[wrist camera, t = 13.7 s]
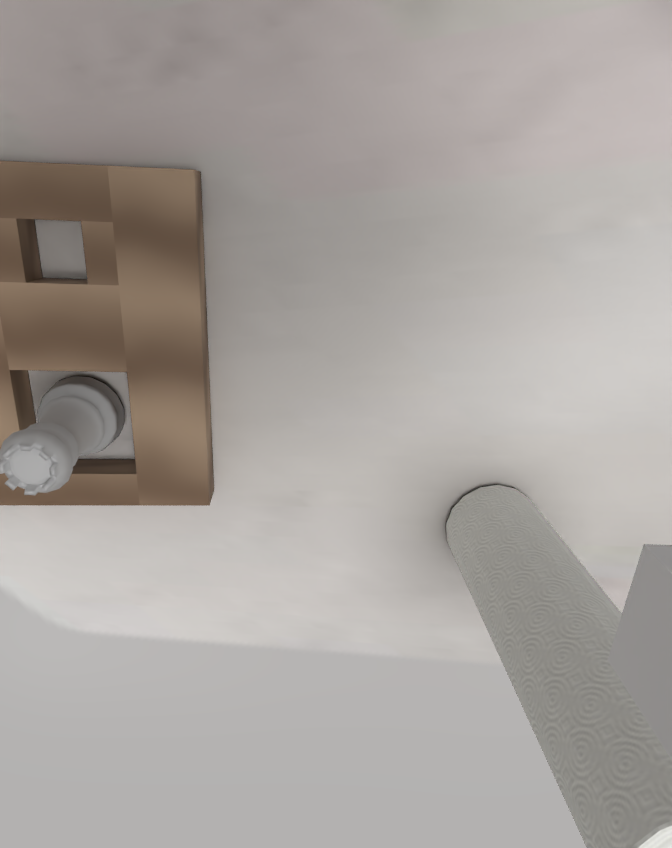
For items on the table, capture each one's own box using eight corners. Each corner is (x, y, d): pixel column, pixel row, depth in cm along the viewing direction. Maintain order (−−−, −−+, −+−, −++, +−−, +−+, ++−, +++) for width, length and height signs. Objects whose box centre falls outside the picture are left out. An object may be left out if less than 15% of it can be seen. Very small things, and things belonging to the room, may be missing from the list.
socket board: (-91, 158, 28) (-119, 155, 26) (200, 172, 29) (194, 169, 27) (-23, 488, 34) (-41, 505, 32) (214, 489, 35) (209, 505, 33)
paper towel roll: (433, 499, 37) (600, 851, 17) (524, 469, 36) (805, 792, 16) (460, 586, 39) (633, 981, 19) (545, 559, 39) (810, 932, 19)
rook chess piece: (79, 459, 34) (19, 530, 26) (29, 396, 32) (-49, 453, 25) (142, 424, 33) (99, 486, 26) (95, 359, 32) (35, 406, 24)
